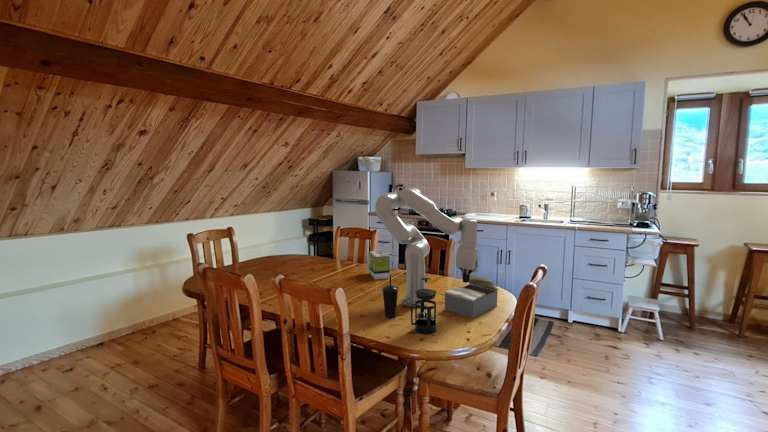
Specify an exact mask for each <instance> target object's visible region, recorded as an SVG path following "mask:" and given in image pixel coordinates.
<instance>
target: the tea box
mask: <svg viewBox="0 0 768 432" xmlns="http://www.w3.org/2000/svg"><path fill="white" fill-rule="evenodd" d="M390 258H391V257H390V254H388V253H386V252H385V251H384V250H374V251H368V274H369V275H370V276H371V277H372V278H373V279H374V280H387V279H390V275H391V269H390V268H391V267H390V265H391V264H390V263H391V262H390V261H391V259H390Z"/></svg>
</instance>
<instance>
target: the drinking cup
mask: <svg viewBox="0 0 768 432" xmlns="http://www.w3.org/2000/svg"><path fill="white" fill-rule="evenodd" d="M381 289H382V296H383V298H382V299H383V307H384V317H385V318H386V319H395V318H396V317H397V316H396V314H397V304H398V303H397V302H398V292H399V287H398V286H396V285H393V284H392V274H390V278H389V284H388V285H385V286H382V287H381Z"/></svg>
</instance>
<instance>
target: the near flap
mask: <svg viewBox="0 0 768 432" xmlns="http://www.w3.org/2000/svg"><path fill="white" fill-rule="evenodd" d="M463 287H464V286H459V285H458V286H457V285H456V286H455V287H453V288H450V289H448V290H446V291H445V292H444V295H445V294H448V295H452V296H455V297H459V298H463V299H466V300H470V301H475V300H477V299H479V298H481V297H483V296H485V295H486V293H483V292H479V291H475V290H471V289H467V288H463Z"/></svg>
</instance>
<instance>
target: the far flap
mask: <svg viewBox="0 0 768 432" xmlns="http://www.w3.org/2000/svg"><path fill="white" fill-rule="evenodd" d="M461 276H462V277H463V274H462V273H461ZM467 283H468V285H469V284H471V285H475V286H480V287H484V288H488V289H492V290H496V291H497V292H498V290H499V288H498V287H497V285H495V284H494V282H493V281H492V280H491V279H490V278H486V277H482V276H477V275H473V274H470V280H469V282H467Z"/></svg>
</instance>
